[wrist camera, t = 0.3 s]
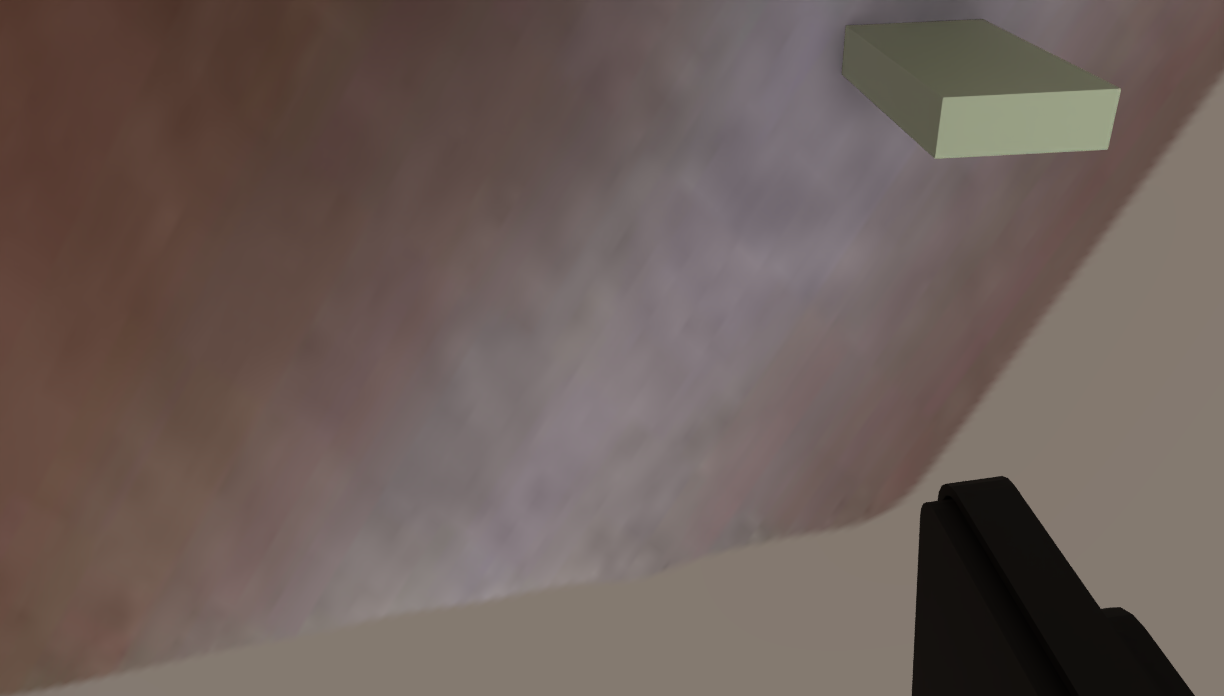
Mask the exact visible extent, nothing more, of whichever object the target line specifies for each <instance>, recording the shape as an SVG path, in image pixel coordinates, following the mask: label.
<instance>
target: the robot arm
mask: <svg viewBox="0 0 1224 696" xmlns="http://www.w3.org/2000/svg"><path fill="white" fill-rule="evenodd" d="M912 682H913V683H912V696H1195V695H1194V694H1193V693H1192V691H1191V690H1190V689H1189V687H1188V686H1187V685H1186V683H1185V682H1184V681H1183V679H1182V678H1181V676H1180V675H1179V674H1178V672H1177V671H1176V670H1175V668H1174V667H1173V666H1172V664H1171V663H1170V661H1169V660H1168V659H1167V657H1166V656H1165V655H1164V653H1163V652H1162V651H1161V649H1160V648H1159V646H1158V645H1157V644H1156V642H1155V641H1154V640H1153V638H1152V637H1151V636H1150V634H1149V633H1148V631H1147V630H1146V629H1145V628H1144V626H1143V625H1142V624H1141V623H1140V622H1139V621H1138V620H1137V619H1136V618H1135V617H1134V615H1133V614H1131V613H1129V612H1128V611H1126V610H1124V609H1123V608H1121V607H1117V608H1104V609H1100V607H1099V606H1098V604H1097V603H1096V602H1095V600H1094V599H1093V597H1092V596H1091V595H1090V593H1089V591H1088V590H1087V589H1086V587H1085V586H1084V584H1083V583H1082V582H1081V580H1080V579H1079V577H1078V576H1077V574H1076V573H1075V571H1074V570H1073V569H1072V567H1071V566H1070V564H1069V563H1068V561H1067V560H1066V559H1065V557H1064V556H1063V554H1062V553H1061V551H1060V550H1059V548H1058V547H1057V546H1056V544H1055V543H1054V541H1053V540H1052V538H1051V537H1050V536H1049V534H1048V533H1047V531H1046V530H1045V528H1044V527H1043V526H1042V524H1041V523H1040V521H1039V520H1038V518H1037V517H1036V516H1035V514H1034V513H1033V511H1032V510H1031V508H1030V507H1029V506H1028V504H1027V503H1026V501H1025V500H1024V498H1023V497H1022V496H1021V494H1020V493H1019V491H1018V490H1017V488H1016V487H1015V486H1014V484H1013V483H1012V482H1011V481H1010V480H1009V479H1008V478H1006V477H1003V476H999V477H993V478H985V479H978V480H970V481H963V482H956V483H949V484H945V485H942V487H941V489H940V491H939V495H938V501H934V502H926V503H924V504H923V505H922V508H921V514H920V534H919V554H918V576H917V596H916V618H915V639H914V660H913V681H912Z"/></svg>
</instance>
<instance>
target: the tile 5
mask: <svg viewBox="0 0 1224 696" xmlns="http://www.w3.org/2000/svg"><path fill="white" fill-rule="evenodd" d="M842 75H843V76H844V77H845V78H846V79H847V80H849V81H850V82H851V83H852V84H853V85H854V86H855V87H856V88H857V89H859V90H860V91H861V92H862V93H863V94H864V95H865V96H866V97H867V98H868V99H870V100H871V101H872V102H873V103H874V104H875V105H876V106H877V107H878V108H879V109H881V110H882V111H883V112H884V113H885V114H886V115H887V116H888V117H889V118H890V119H892V120H893V121H894V122H895V123H896V124H897V125H898V126H899V127H900V128H902V129H903V130H904V131H905V132H906V133H907V134H908V135H909V136H910V137H911V138H913V139H914V140H915V141H916V142H917V143H918V144H919V145H920V146H921V147H922V148H924V149H925V150H926V151H927V152H928V153H929V154H930V155H931V156H932V157H934V158H935V159H939V158H958V157H976V156H995V155H1014V154H1033V153H1052V152H1070V151H1089V150H1108V146H1109V141H1110V137H1111V132H1112V128H1113V123H1114V118H1115V114H1116V109H1117V105H1118V100H1119V96H1120V91H1121V88H1119V87H1117V86H1115V85H1113V84H1111V83H1109V82H1107V81H1105V80H1103V79H1101V78H1099V77H1097V76H1095V75H1093V74H1091V73H1089V72H1087V71H1085V70H1083V69H1081V68H1079V67H1077V66H1075V65H1073V64H1071V63H1069V62H1067V61H1065V60H1063V59H1061V58H1059V57H1057V56H1055V55H1053V54H1051V53H1049V52H1047V51H1045V50H1043V49H1041V48H1039V47H1037V46H1035V45H1033V44H1031V43H1029V42H1027V41H1025V40H1023V39H1021V38H1019V37H1017V36H1015V35H1013V34H1011V33H1009V32H1007V31H1005V30H1003V29H1001V28H999V27H997V26H995V25H993V24H991V23H989V22H987V21H985V20H983V19H976V20H955V21H933V22H912V23H890V24H869V25H847V26H846V29H845V41H844V53H843V65H842Z"/></svg>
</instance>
